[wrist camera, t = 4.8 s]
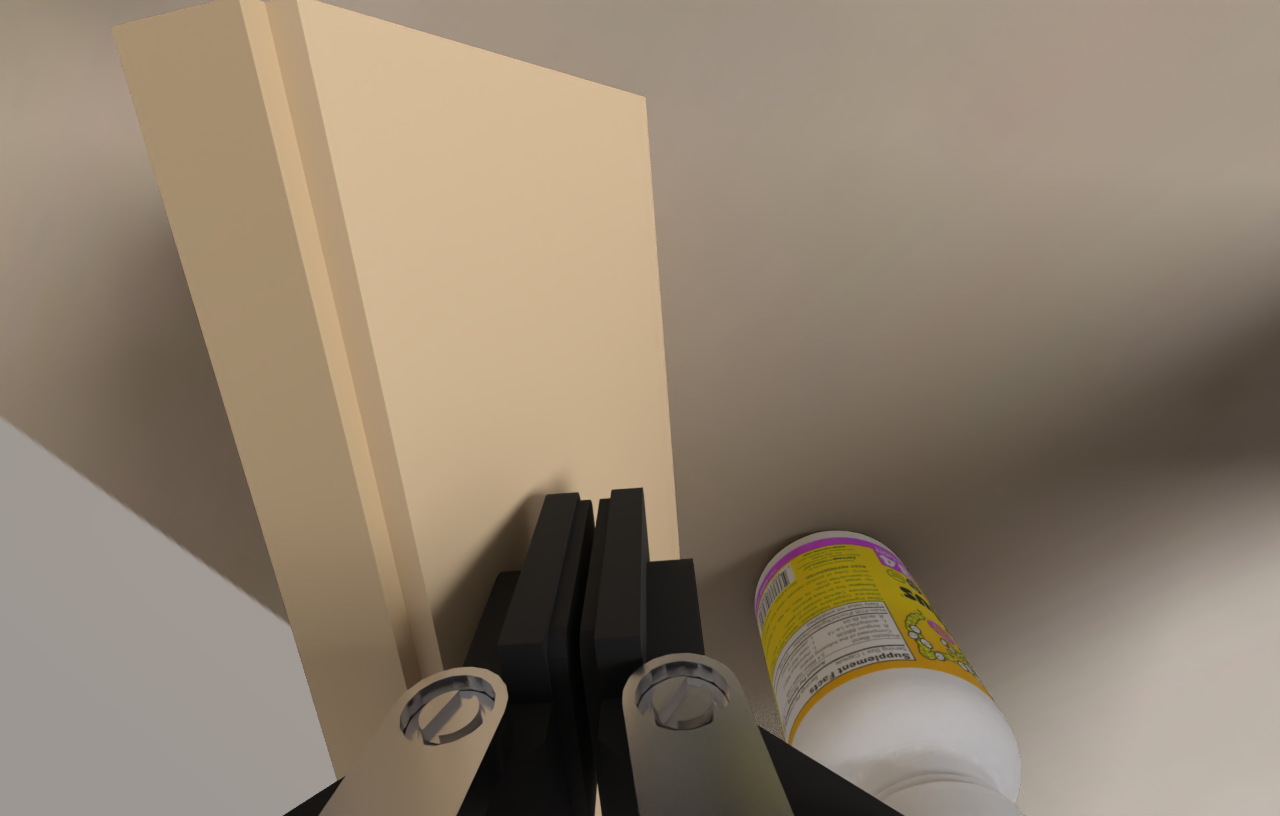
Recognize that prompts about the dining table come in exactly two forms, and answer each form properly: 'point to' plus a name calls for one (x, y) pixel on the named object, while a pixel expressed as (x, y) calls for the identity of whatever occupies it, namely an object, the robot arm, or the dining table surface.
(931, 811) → the supplement bottle
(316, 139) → the lid
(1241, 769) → the dining table surface
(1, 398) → the dining table surface
